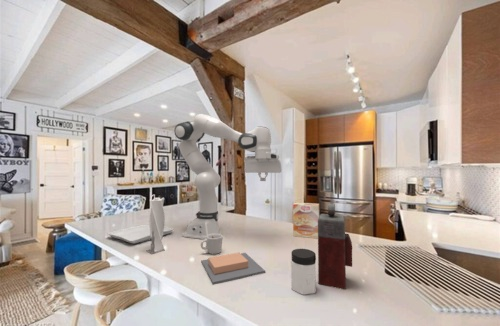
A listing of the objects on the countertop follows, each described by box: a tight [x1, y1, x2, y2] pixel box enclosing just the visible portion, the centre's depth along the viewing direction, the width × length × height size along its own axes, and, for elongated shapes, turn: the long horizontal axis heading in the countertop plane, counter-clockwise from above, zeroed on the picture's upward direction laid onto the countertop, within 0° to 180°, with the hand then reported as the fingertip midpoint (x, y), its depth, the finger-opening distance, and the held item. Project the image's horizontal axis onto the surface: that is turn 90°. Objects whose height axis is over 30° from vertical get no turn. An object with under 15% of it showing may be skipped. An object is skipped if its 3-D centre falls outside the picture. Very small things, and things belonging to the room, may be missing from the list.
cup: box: [200, 233, 224, 255], centre depth 106 cm, size 11×8×8 cm
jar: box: [290, 248, 317, 296], centre depth 75 cm, size 9×8×12 cm
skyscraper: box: [145, 194, 166, 255], centre depth 110 cm, size 8×8×28 cm
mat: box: [200, 252, 266, 285], centre depth 91 cm, size 20×21×1 cm
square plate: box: [106, 223, 175, 244], centre depth 133 cm, size 27×27×4 cm
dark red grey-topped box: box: [317, 203, 353, 290], centre depth 80 cm, size 9×11×28 cm
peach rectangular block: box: [207, 252, 248, 274], centre depth 90 cm, size 10×3×14 cm
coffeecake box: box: [292, 202, 320, 240], centre depth 133 cm, size 15×7×20 cm, turn 70°
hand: (263, 181), depth 120 cm, fingers closed
